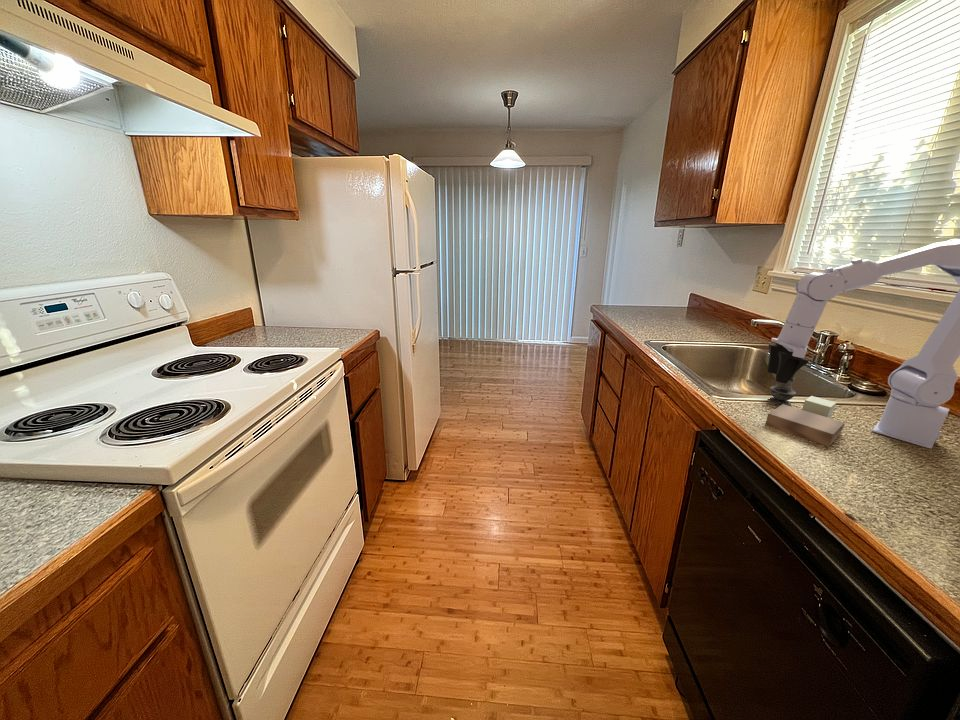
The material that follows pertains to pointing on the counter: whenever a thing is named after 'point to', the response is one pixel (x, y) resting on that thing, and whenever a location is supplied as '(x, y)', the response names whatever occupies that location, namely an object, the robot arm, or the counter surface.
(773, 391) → the grey stone chess piece
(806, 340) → the robot arm
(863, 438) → the counter surface
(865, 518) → the counter surface
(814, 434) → the walnut block
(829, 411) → the sage block
